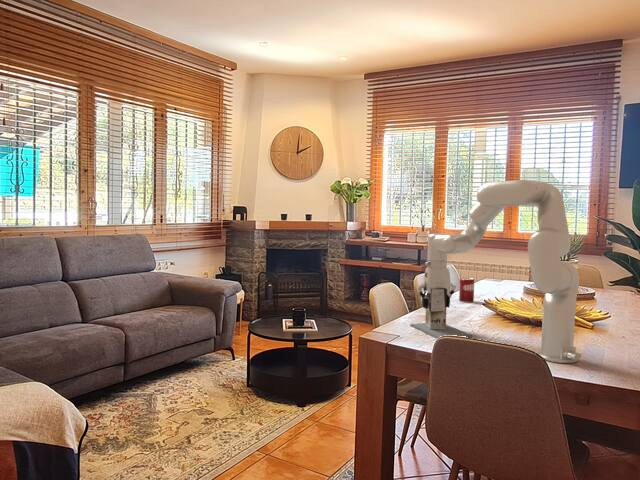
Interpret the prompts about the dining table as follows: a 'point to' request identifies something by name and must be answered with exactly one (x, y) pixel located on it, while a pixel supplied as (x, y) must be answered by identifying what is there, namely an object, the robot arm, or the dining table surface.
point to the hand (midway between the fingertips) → (435, 307)
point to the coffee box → (436, 309)
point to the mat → (438, 333)
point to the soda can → (466, 290)
